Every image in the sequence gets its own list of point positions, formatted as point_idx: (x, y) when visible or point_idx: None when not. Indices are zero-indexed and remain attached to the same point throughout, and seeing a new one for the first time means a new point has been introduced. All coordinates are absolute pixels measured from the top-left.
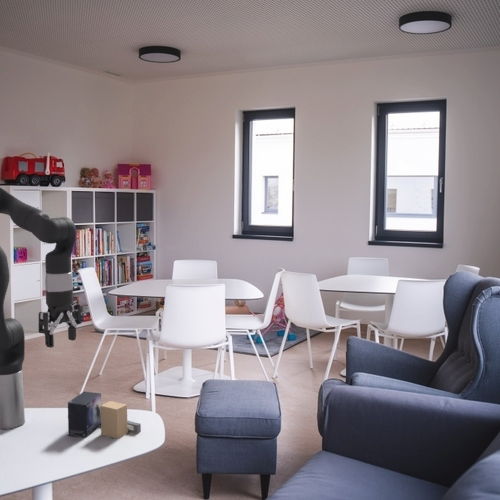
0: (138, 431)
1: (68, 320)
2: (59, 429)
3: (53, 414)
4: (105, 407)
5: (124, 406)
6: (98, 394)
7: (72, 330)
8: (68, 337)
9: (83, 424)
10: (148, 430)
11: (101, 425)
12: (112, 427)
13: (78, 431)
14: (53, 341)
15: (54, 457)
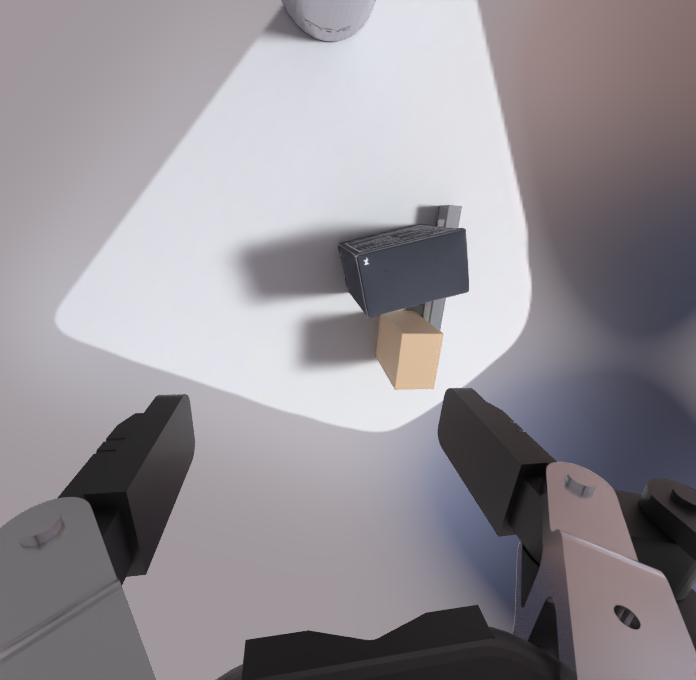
0: None
1: (543, 647)
2: (360, 190)
3: (444, 81)
4: (399, 351)
5: (424, 387)
6: (456, 291)
7: (486, 498)
8: (455, 395)
9: (353, 294)
10: None
11: (386, 317)
12: (382, 352)
13: (346, 275)
14: (175, 496)
15: (228, 304)
